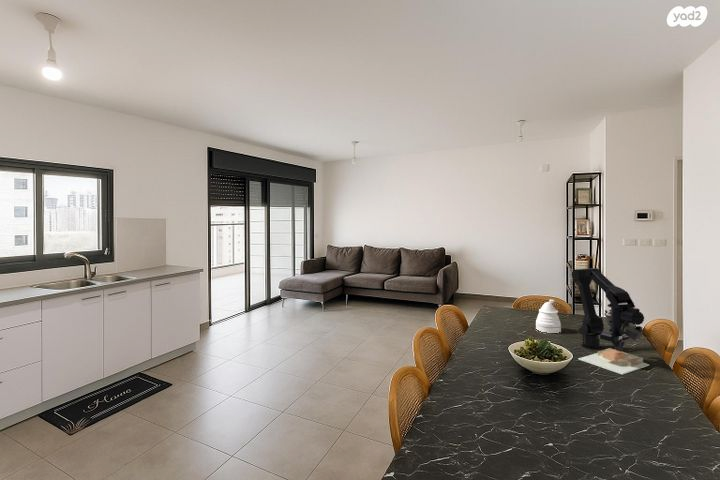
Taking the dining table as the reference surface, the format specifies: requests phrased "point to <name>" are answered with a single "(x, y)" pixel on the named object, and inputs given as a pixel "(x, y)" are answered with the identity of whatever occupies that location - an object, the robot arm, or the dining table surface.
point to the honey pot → (548, 319)
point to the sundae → (608, 318)
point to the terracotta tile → (613, 355)
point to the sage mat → (611, 364)
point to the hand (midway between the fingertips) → (619, 352)
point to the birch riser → (625, 358)
